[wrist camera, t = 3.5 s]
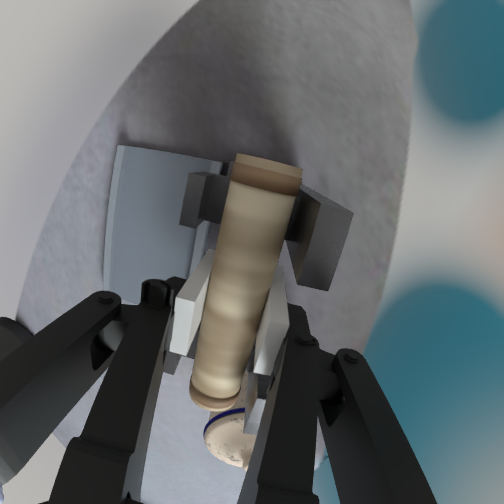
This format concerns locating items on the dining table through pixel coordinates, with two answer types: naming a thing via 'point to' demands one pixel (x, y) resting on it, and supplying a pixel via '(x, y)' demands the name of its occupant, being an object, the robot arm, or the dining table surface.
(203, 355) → the wooden cylinder
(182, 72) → the dining table surface
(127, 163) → the tray
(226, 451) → the teacup with lid
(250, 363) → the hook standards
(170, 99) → the dining table surface
